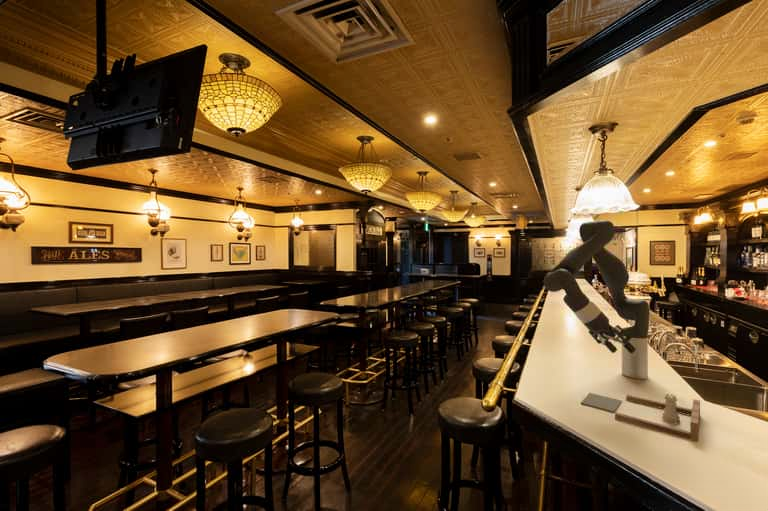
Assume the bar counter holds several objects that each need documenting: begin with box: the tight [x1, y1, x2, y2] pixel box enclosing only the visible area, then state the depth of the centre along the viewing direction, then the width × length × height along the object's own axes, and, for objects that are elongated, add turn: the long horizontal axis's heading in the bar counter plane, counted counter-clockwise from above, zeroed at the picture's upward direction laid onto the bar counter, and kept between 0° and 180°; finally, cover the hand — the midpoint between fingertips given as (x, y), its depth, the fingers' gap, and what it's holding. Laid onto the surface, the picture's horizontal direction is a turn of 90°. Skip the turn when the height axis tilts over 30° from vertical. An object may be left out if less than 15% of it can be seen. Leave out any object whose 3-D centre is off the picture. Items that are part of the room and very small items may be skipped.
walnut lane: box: [614, 394, 701, 442], centre depth 110 cm, size 21×20×5 cm
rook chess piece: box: [661, 393, 681, 424], centre depth 108 cm, size 4×4×8 cm
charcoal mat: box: [580, 392, 622, 414], centre depth 121 cm, size 12×10×1 cm
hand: (623, 351), depth 120 cm, fingers open, 8 cm apart
